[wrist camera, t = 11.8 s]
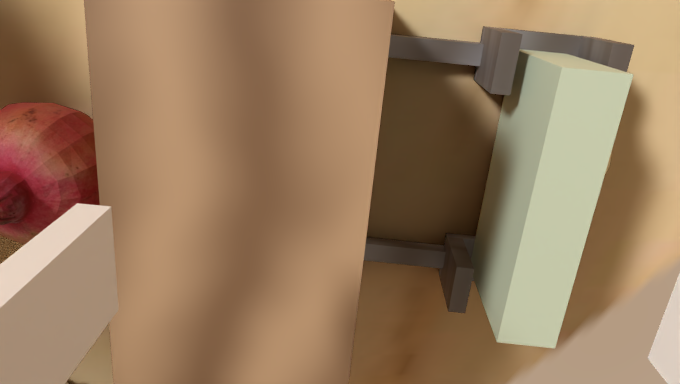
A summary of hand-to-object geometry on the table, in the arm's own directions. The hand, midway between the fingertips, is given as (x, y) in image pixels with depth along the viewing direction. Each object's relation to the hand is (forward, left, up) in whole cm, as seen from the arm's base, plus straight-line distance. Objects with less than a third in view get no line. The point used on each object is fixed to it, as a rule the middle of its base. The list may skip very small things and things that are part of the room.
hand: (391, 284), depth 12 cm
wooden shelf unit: (+1, -3, -21) cm, 21 cm away
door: (+9, -3, -20) cm, 22 cm away
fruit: (-18, -5, -21) cm, 28 cm away
